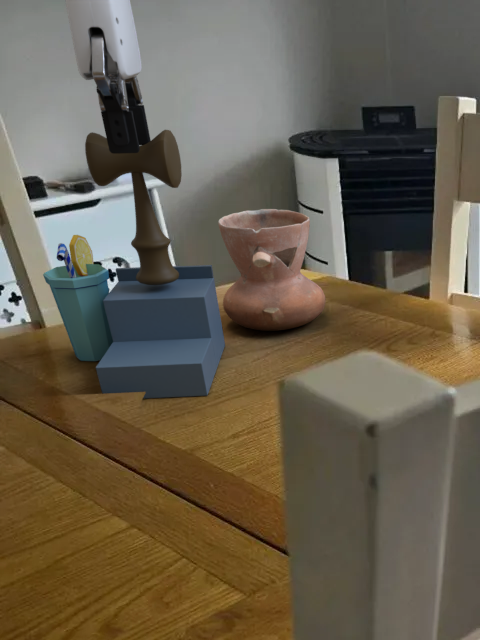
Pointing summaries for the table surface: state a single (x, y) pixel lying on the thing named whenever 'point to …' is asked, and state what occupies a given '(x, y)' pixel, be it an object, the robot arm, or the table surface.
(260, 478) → the table surface
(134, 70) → the robot arm
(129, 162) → the kendama
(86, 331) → the cup
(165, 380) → the step rack
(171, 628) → the table surface
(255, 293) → the ceramic jug
